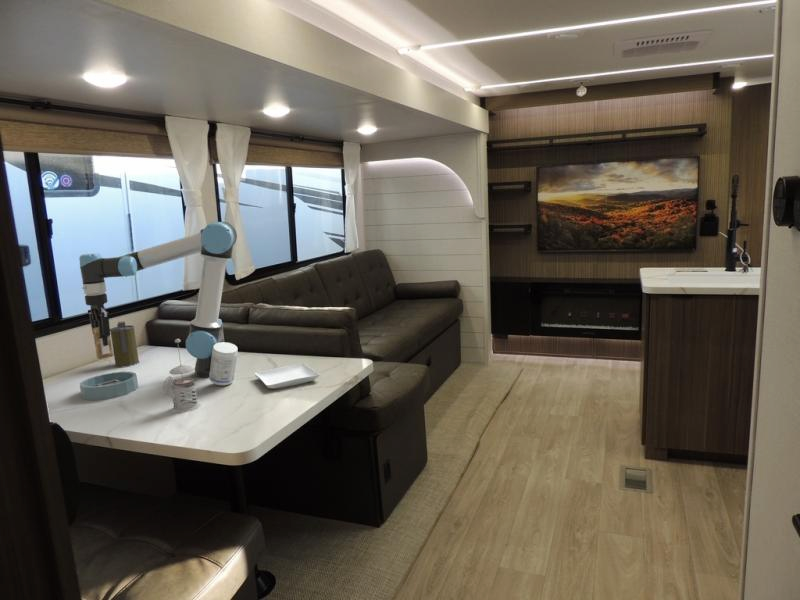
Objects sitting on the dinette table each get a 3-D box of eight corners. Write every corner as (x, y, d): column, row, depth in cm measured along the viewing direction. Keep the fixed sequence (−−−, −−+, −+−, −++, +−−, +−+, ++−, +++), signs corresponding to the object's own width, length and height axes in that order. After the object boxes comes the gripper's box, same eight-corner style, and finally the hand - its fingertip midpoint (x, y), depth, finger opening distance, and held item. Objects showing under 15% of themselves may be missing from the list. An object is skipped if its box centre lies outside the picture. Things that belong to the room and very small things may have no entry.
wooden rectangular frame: (112, 355, 229) (108, 326, 227) (99, 359, 226) (95, 328, 224) (110, 355, 231) (105, 325, 229) (97, 358, 227) (92, 328, 225)
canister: (115, 363, 274) (109, 322, 271) (139, 359, 279) (133, 318, 275) (114, 368, 265) (108, 325, 261) (139, 364, 269) (133, 322, 265)
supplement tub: (218, 371, 236) (222, 339, 232) (238, 379, 234) (243, 347, 229) (203, 380, 228) (207, 347, 223) (223, 389, 225) (228, 355, 220)
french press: (205, 406, 206) (197, 337, 201) (173, 416, 198) (164, 344, 194) (193, 400, 213) (184, 334, 208) (161, 410, 205) (152, 341, 201)
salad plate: (254, 380, 235) (253, 371, 234) (304, 370, 244) (303, 362, 244) (267, 393, 216) (266, 385, 216) (321, 382, 226) (320, 374, 225)
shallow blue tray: (147, 388, 232) (145, 376, 231) (95, 403, 217) (93, 390, 216) (123, 380, 245) (122, 369, 244) (73, 394, 229) (71, 382, 229)
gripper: (76, 294, 226) (85, 352, 230) (94, 296, 216) (103, 357, 220) (96, 291, 232) (105, 348, 236) (114, 293, 222) (123, 353, 226)
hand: (104, 352), depth 228 cm, fingers closed on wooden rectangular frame, 2 cm apart
